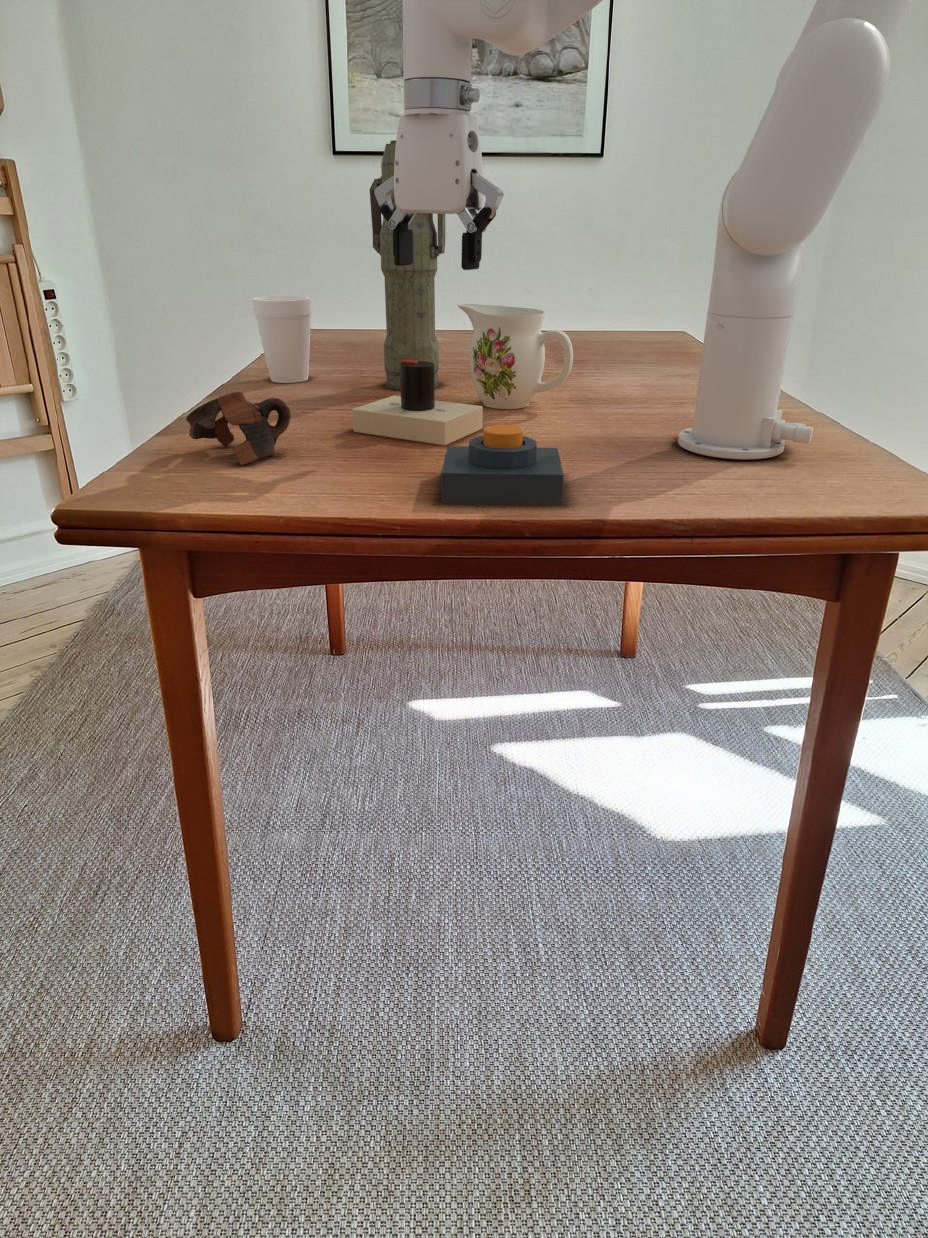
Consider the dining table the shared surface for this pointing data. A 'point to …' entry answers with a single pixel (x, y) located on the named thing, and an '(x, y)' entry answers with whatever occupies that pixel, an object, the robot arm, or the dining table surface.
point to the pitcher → (511, 354)
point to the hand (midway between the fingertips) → (436, 266)
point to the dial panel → (418, 421)
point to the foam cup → (285, 335)
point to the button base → (502, 474)
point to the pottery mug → (241, 424)
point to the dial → (417, 385)
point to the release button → (502, 436)
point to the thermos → (407, 284)
